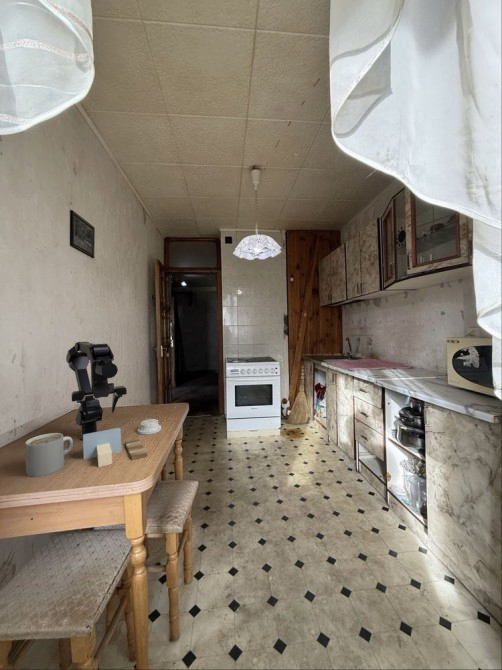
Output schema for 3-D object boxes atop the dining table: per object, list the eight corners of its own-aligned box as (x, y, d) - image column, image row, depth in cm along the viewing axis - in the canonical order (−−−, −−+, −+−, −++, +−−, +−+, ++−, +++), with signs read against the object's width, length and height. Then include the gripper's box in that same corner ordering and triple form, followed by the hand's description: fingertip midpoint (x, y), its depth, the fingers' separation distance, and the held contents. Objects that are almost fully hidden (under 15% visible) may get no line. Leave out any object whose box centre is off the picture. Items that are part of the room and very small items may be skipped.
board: (125, 444, 107) (124, 441, 107) (138, 441, 109) (138, 438, 109) (131, 460, 93) (131, 456, 93) (147, 456, 96) (147, 452, 96)
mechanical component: (132, 434, 117) (153, 435, 115) (132, 424, 117) (153, 425, 115) (146, 426, 127) (165, 427, 125) (145, 417, 127) (165, 418, 125)
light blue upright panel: (83, 456, 97) (82, 434, 97) (120, 448, 103) (119, 427, 103) (84, 470, 87) (83, 446, 87) (125, 460, 93) (124, 437, 93)
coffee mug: (31, 480, 82) (30, 447, 81) (22, 470, 88) (21, 440, 87) (80, 462, 92) (79, 433, 92) (69, 455, 98) (68, 427, 98)
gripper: (70, 381, 94) (72, 425, 95) (128, 375, 105) (129, 415, 105) (71, 377, 104) (72, 417, 104) (124, 372, 114) (124, 408, 114)
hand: (100, 414), depth 107 cm, fingers open, 8 cm apart
